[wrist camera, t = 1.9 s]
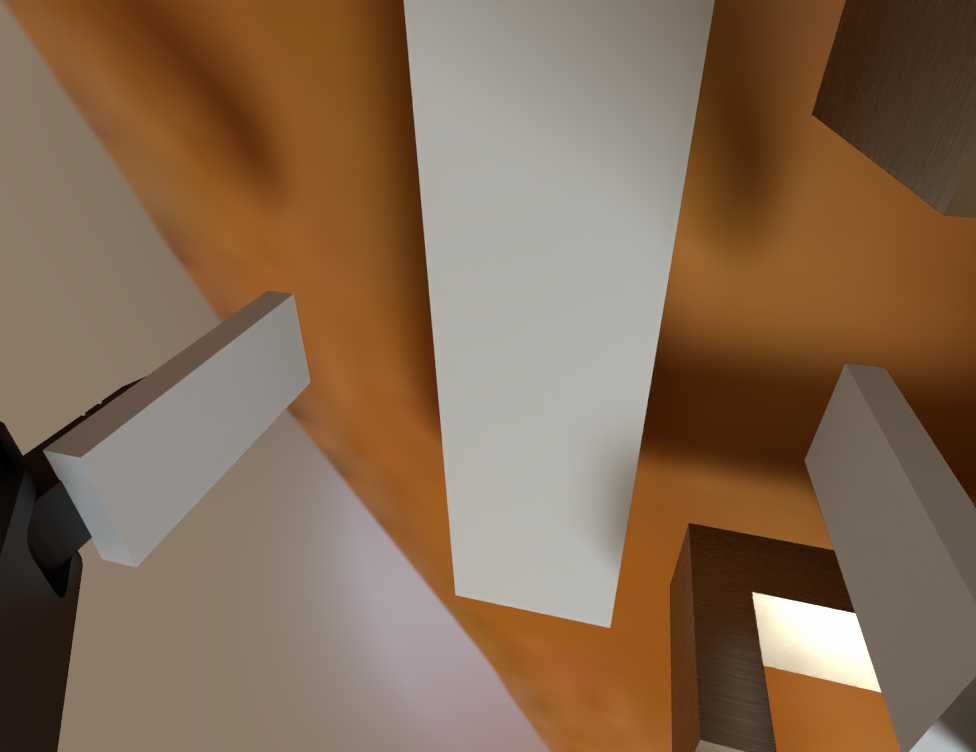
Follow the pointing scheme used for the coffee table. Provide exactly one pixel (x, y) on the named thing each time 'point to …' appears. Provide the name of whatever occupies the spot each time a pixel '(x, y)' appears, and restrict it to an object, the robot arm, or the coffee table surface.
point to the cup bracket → (791, 566)
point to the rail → (548, 271)
